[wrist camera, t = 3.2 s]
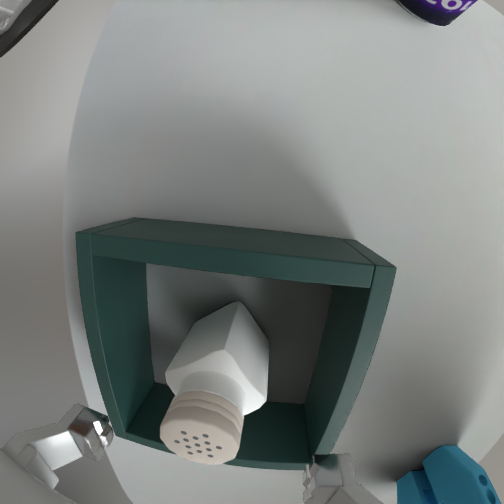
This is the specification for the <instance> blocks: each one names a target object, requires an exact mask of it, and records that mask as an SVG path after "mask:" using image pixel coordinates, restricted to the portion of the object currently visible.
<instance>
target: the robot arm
mask: <svg viewBox="0 0 504 504" xmlns="http://www.w3.org/2000/svg"><path fill="white" fill-rule="evenodd" d="M31 1H32V0H0V34H2V33H4V32H6V31H7V30H8V29H9V28H10V27H11V25H12V24H13V23H14V21H15V20H16V19H17V17H18V16H19V14H20V13H21V12H22V11H23V9H24V8H25V7H26V6H27V5H28V4H29V3H30V2H31ZM108 423H109V418H108V416H106V415H104V414H101V413H99V412H97V411H94V410H92V409H90V408H88V407H86V406H83V405H81V404H79V403H77V404H75V405H74V406H73V407H72V408H71V409H70V410H69V411H68V412H67V413H66V415H65V416H64V417H63V418H62V419H61V420H60V421H59V423H58V424H56V423H53V424H49V425H46V426H42V427H39V428H35V429H31V430H27V431H24V432H19V433H16V434H15V435H14V436H13V437H12V438H11V439H10V440H9V441H8V442H7V443H6V445H5V446H4V447H3V448H2V449H0V504H77V503H75V502H73V501H72V500H70V499H68V498H66V497H65V496H63V495H62V494H60V493H59V492H57V491H55V490H54V487H55V486H56V484H57V483H58V481H59V479H58V477H57V476H56V475H55V474H54V472H53V471H52V470H55V469H57V468H59V467H61V466H63V465H65V464H68V463H70V462H72V461H74V460H76V459H77V458H80V457H82V456H83V455H84V456H86V457H88V458H90V459H92V460H94V461H97V462H99V461H100V460H101V458H102V457H103V455H104V453H105V450H104V448H105V447H107V446H109V445H110V444H111V442H112V439H113V429H112V427H111V426H110V425H109V424H108ZM303 485H304V486H305V487H306V489H305V491H304V492H303V501H304V504H383V503H382V502H381V501H379V500H378V499H377V498H376V497H375V496H373V495H372V494H371V493H370V492H369V491H368V490H366V489H365V488H364V487H363V486H362V485H361V484H360V485H357V482H356V477H355V472H354V467H353V462H352V458H351V455H350V454H349V453H344V454H316V455H311V456H310V457H309V463H308V464H307V465H306V466H305V468H304V473H303Z"/></svg>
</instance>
